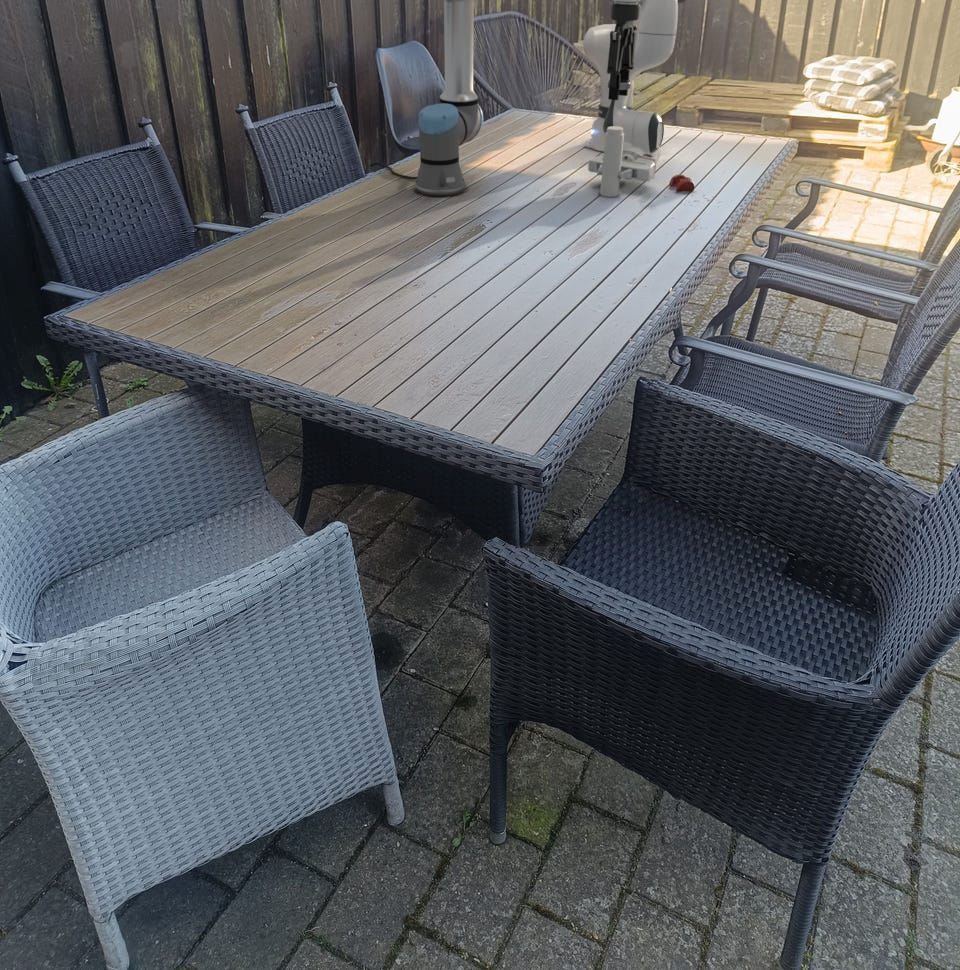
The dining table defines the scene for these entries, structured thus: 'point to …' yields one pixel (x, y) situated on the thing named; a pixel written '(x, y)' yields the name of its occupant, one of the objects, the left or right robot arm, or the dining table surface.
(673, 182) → the dental model
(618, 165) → the bottle
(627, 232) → the dining table surface
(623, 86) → the lid
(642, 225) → the dining table surface
